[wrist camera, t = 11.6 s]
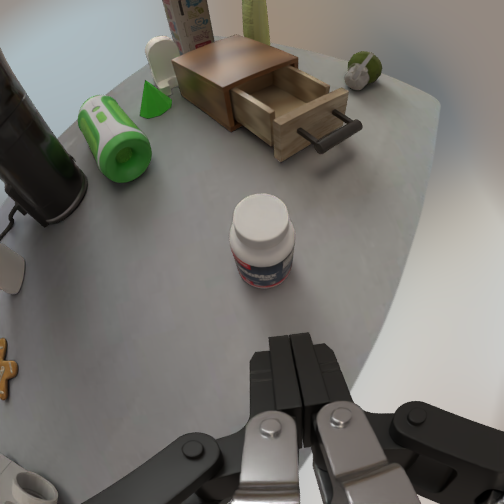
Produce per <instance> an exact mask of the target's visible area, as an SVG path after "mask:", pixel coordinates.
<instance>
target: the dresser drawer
mask: <svg viewBox="0 0 504 504" xmlns="http://www.w3.org/2000/svg"><path fill="white" fill-rule="evenodd" d="M329 89H330V85H328V84H326V83H324V82H322V81H320V80H318V79H317V78H315V77H313V76H311V75H309V74H307V73H305V72H303V71H301V70H299V69H297V68H295V67H292V66H290V65H288V66H285V67H282V68H280V69H277V70H274V71H272V72H269V73H267V74H264V75H262V76H259V77H257V78H255V79H252V80H250V81H248V82H245V83H243V84H241V85H238V86H236V87H234V88H232V89H230V90H229V95H230V101H231V107H232V113H233V119H235V120H236V121H238V122H239V123H240V124H242V125H243V126H244V127H246V128H247V129H249V130H250V131H251V132H253V133H254V134H255V135H257V136H258V137H259V138H261V139H262V140H263V141H265V142H266V143H267V144H268V145H270V146H271V147H272V146H274V157H275V158H276V159H277V160H279V161H280V162H282V161H284V160H285V159H287V158H289V157H290V156H292V155H293V154H295V153H297V152H298V151H300V150H302V149H303V148H305V147H307V146H308V145H310V144H313V145H314V148H315V150H316V151H317V152H318V153H319V154H323V153H325V152H326V151H328V150H329V149H331V148H333V147H334V146H336V145H337V144H339V143H340V142H342V141H344V140H345V139H347V138H349V137H350V136H352V135H353V134H355V133H357V132H358V131H360V130H361V129H362V123H361V122H360V121H359V120H351V119H350V118H348V117H347V116H345V111H346V105H347V100H348V94H349V91H347V90H345V89H343V88H339V89H337V90H335V91H332V92H330V93H329ZM343 122H345V123H346V125H345V126H343V127H341V126H342V125H343ZM339 127H341V128H339ZM337 128H339V129H338V130H336V131H334V130H335V129H337ZM332 131H334V132H333V133H331V134H329V133H330V132H332ZM327 134H329V135H327ZM325 135H327V136H326V137H324V138H322V137H323V136H325ZM320 138H322V139H321V140H318V139H320Z"/></svg>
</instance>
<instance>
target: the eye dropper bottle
mask: <svg viewBox="0 0 504 504" xmlns="http://www.w3.org/2000/svg"><path fill="white" fill-rule="evenodd" d="M24 269H25V262H24V259H23V257H21V256H20V255H18V254H17V253H16V252H14V251H13V250H11V249H10V248H8V247H7V246H5V245H4V244H3V243H1V242H0V289H1V290H3V291H5V292H7V293H9V294H17V293H18V292H19V290H20V287H21V284H22V281H23V277H24Z"/></svg>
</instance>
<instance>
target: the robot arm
mask: <svg viewBox="0 0 504 504" xmlns="http://www.w3.org/2000/svg"><path fill="white" fill-rule="evenodd" d="M72 159H73V160H74V161H75V159H74V158H73V157H72V156H71V155H69V154H68V153H67V152H66V150H65V149H64V148H63V146H62V145H61V143H60V142H59V141H58V139H57V138H56V136H55V135H54V134H53V132H52V131H51V129H50V128H49V127H48V125H47V124H46V122H45V121H44V119H43V118H42V116H41V115H40V113H39V112H38V110H37V109H36V107H35V106H34V104H33V103H32V101H31V100H30V98H29V96H28V95H27V93H26V92H25V90H24V89H23V87H22V86H21V84H20V83H19V81H18V80H17V78H16V76H15V75H14V73H13V72H12V70H11V68H10V66H9V64H8V63H7V61H6V59H5V57H4V55H3V53H2V51H1V48H0V179H1V180H2V181H3V182H4V183H5V192H6V193H7V194H8V195H9V196H10V197H11V198H12V199H13V200H14V201H15V206H14V207H13V209H12V210H11V212H10V214H9V221H10V223H9V225H8V226H7V228H6V229H5V230H4V231H3V232H2V234H1V235H0V240H1V239H2V238H3V237H4V236H5V235H6V233H7V232H8V231H9V230H10V229H11V227H12V226H13V224H14V219H13V215H14V213H15V212H16V211H17V210H19V211H20V212H21V213H22V214H23V215H24V216H25V215H26V214H27V213H28V214H29V215H30V216H32V217H33V218H34V219H35V220H36V221H37V222H38V223H40V224H41V225H42V226H43V227H44V228H45V227H47V226H48V225H49V224H54V223H58V222H60V221H62V220H63V219H65V218H66V217H67V216H69V215H70V214H71V213H72V212H73V211H74V210H75V209H76V207H77V206H78V205H79V203H80V202H81V200H82V198H83V196H84V194H85V191H86V188H87V178H86V176H85V174H84V173H83V172H82V171H81V170H80V169H79V167H78V166H77V165H76V164H75V162H76V161H75V162H74V161H73V160H72ZM268 338H269V347H270V351H261V352H255V354H254V355H253V357H252V359H251V360H250V417H249V420H248V422H247V424H246V425H245V426H244V427H243V428H242V429H241V430H240V431H238V432H236V433H235V434H232V435H229V436H226V437H222V438H219V439H214V438H213V437H211V436H210V435H207V434H204V433H197V432H195V433H188V434H185V435H182V436H180V437H179V438H177V439H176V440H175V441H173V442H172V443H171V444H169V445H168V446H167V447H166V448H164V449H163V450H162V451H160V452H159V453H158V454H156V455H155V456H153V457H152V458H151V459H149V460H148V461H146V462H145V463H144V464H142V465H141V466H139V467H138V468H137V469H135V470H134V471H132V472H131V473H129V474H128V475H126V476H125V477H123V478H122V479H120V480H119V481H117V482H116V483H114V484H113V485H111V486H110V487H108V488H106V489H105V490H103V491H102V492H100V493H98V494H97V495H95V496H93V497H92V498H90V499H88V500H87V501H85V502H83V503H81V504H227V503H228V502H229V501H230V500H231V499H232V504H300V489H299V472H298V465H299V449H300V448H302V440H303V445H304V448H306V447H311V448H312V453H313V469H314V472H315V476H316V479H317V483H318V486H319V490H320V494H321V497H322V501H323V504H421V502H420V500H419V498H418V496H417V494H418V495H420V496H422V497H425V498H427V499H430V500H432V501H434V502H437V503H439V504H504V432H503V431H500V430H497V429H494V428H491V427H488V426H485V425H483V424H480V423H477V422H474V421H471V420H469V419H466V418H463V417H460V416H458V415H455V414H453V413H450V412H447V411H445V410H442V409H440V408H437V407H435V406H432V405H430V404H427V403H424V402H420V401H411V402H407V403H405V404H403V405H402V406H400V407H399V408H398V409H397V410H396V412H395V413H390V414H389V413H387V414H386V413H385V414H378V413H370V412H366V411H364V410H362V408H360V406H358V405H357V404H355V403H354V402H353V400H352V398H351V395H350V392H349V390H348V387H347V384H346V382H345V379H344V377H343V374H342V372H341V370H340V367H339V364H338V362H337V359H336V357H335V354H334V352H333V350H332V349H330V348H329V347H328V346H327V345H326V344H325V343H323V344H317V345H313V343H312V340H311V337H310V334H309V332H307V333H299V334H292V335H289V337H288V335H284V336H275V337H268Z"/></svg>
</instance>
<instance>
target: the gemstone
mask: <svg viewBox="0 0 504 504" xmlns="http://www.w3.org/2000/svg"><path fill="white" fill-rule="evenodd" d="M171 105H172V100H171V99H170V98H169V97H168V96H166V95H165V94H164V93H162V92H161V91H160V90H158V89H157V88H156V87H154V86H153V85H152V84H150V83H149V82H147V81H146V80H145V84H144V91H143V97H142V104H141V111H140V116H142V117H144V118H147V119H149V118H152V117H156V116H160V115H162V114H163V113H164V112H166V111H167V110H168V109H169V108H171Z"/></svg>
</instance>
